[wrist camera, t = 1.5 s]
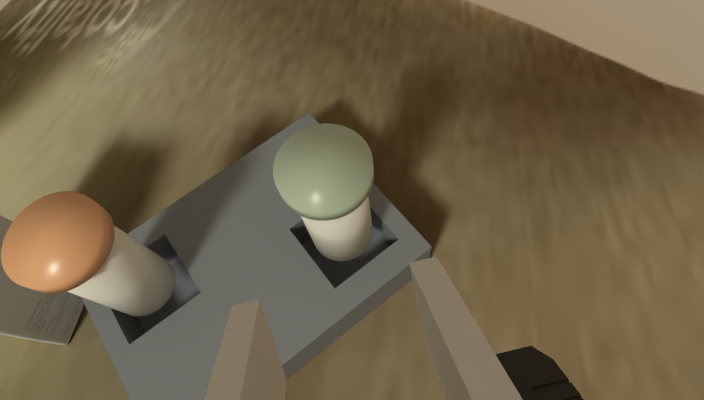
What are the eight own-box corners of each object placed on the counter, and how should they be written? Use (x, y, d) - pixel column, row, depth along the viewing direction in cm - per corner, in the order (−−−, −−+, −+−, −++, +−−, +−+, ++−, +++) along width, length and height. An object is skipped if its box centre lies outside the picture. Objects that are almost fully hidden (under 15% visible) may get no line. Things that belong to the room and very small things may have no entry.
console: (106, 288, 40) (69, 272, 35) (317, 143, 44) (308, 112, 40) (191, 455, 34) (160, 461, 29) (427, 266, 38) (431, 246, 34)
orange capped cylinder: (96, 279, 34) (-12, 230, 25) (161, 235, 36) (79, 173, 26) (127, 339, 32) (20, 310, 23) (195, 291, 33) (118, 244, 24)
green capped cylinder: (291, 227, 35) (254, 160, 26) (349, 185, 36) (333, 107, 27) (334, 283, 33) (310, 232, 24) (394, 236, 34) (394, 170, 25)
